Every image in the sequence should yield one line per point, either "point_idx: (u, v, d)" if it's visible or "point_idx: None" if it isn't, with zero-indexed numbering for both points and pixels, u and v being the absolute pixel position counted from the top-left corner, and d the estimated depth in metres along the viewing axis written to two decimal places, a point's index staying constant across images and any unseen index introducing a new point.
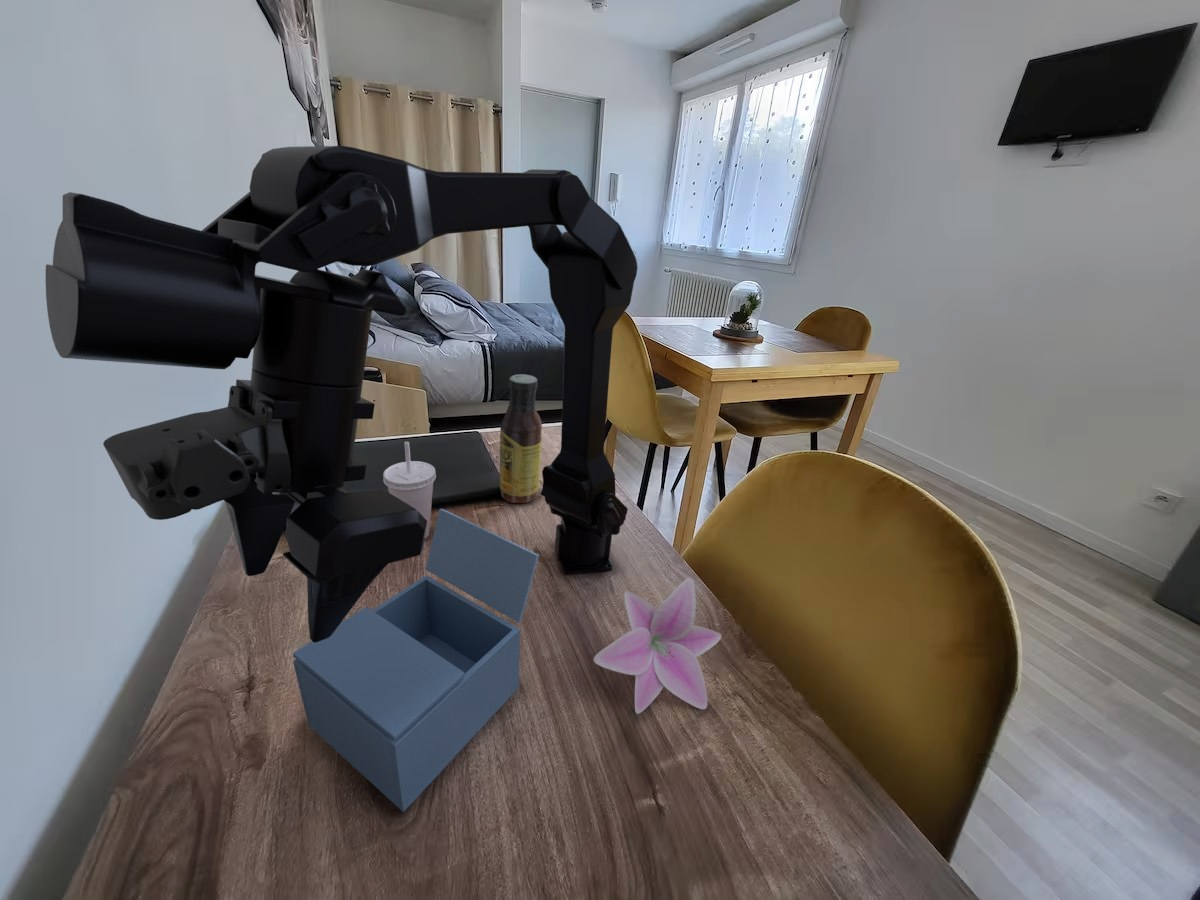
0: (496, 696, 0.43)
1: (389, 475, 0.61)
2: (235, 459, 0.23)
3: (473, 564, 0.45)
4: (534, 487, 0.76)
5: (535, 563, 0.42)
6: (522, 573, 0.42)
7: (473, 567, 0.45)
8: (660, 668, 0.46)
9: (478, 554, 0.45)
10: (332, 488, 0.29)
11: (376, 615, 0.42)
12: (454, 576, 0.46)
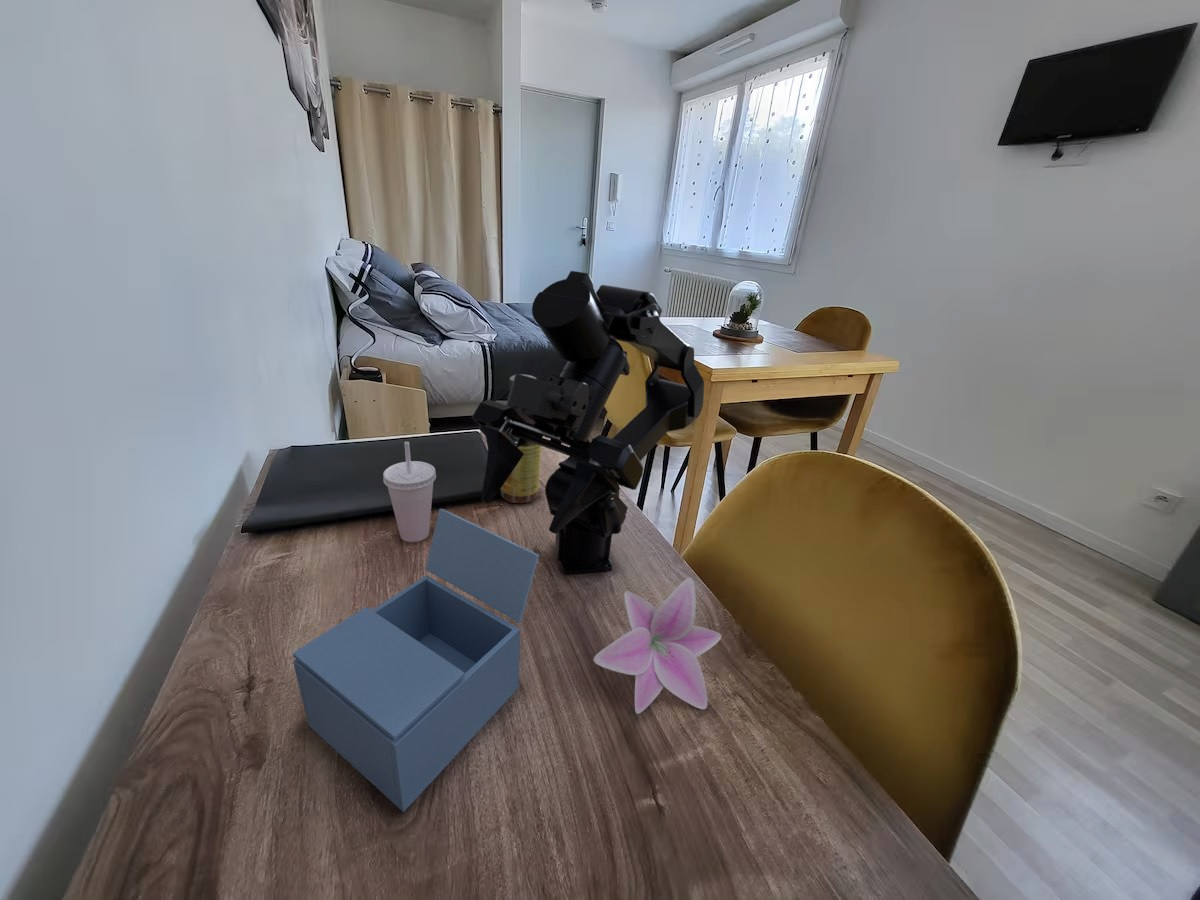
0: (496, 696, 0.43)
1: (389, 475, 0.61)
2: (587, 399, 0.45)
3: (473, 564, 0.45)
4: (534, 487, 0.76)
5: (535, 563, 0.42)
6: (522, 573, 0.42)
7: (473, 567, 0.45)
8: (660, 668, 0.46)
9: (478, 554, 0.45)
10: None
11: (376, 615, 0.42)
12: (454, 576, 0.46)
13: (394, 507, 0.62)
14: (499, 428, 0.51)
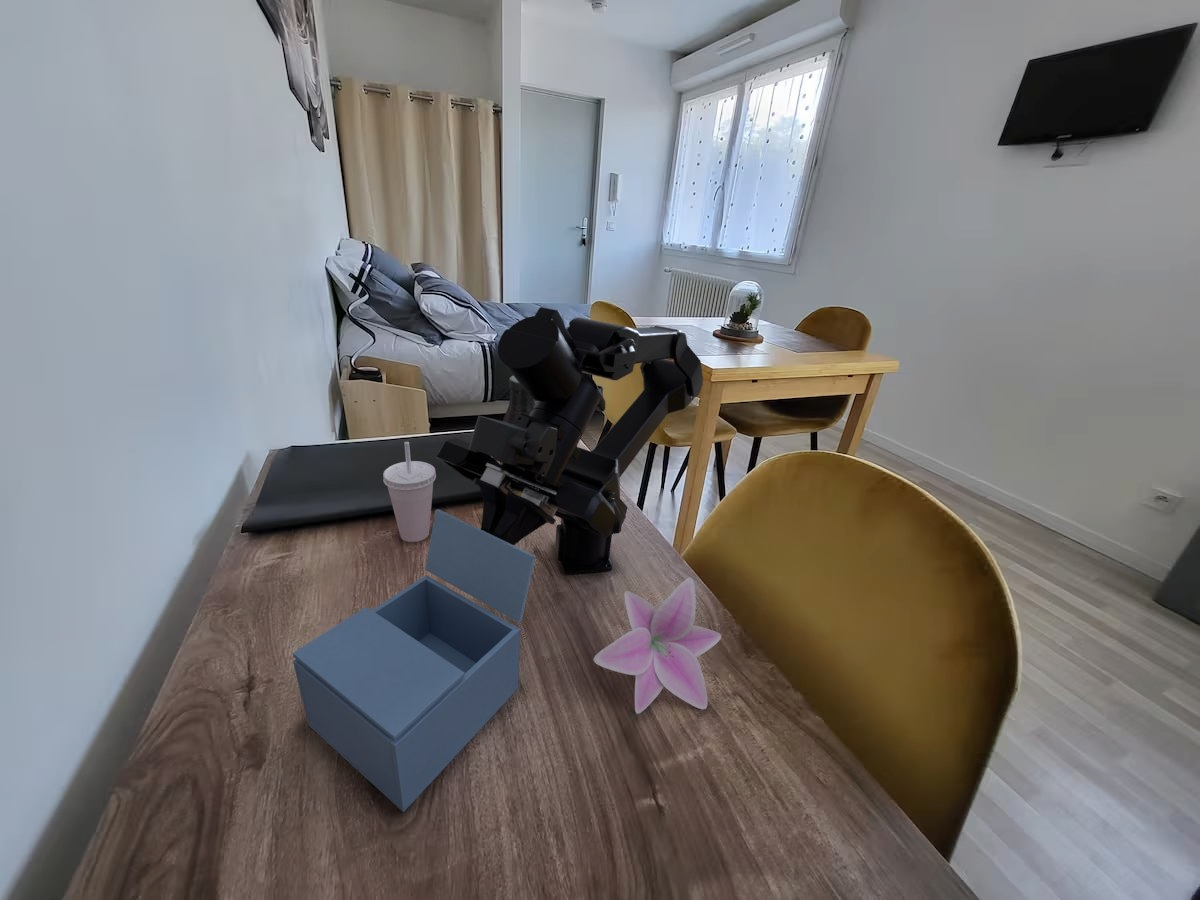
0: (496, 696, 0.43)
1: (389, 475, 0.61)
2: (555, 443, 0.42)
3: (471, 565, 0.45)
4: None
5: (532, 564, 0.42)
6: (519, 574, 0.42)
7: (471, 568, 0.45)
8: (660, 668, 0.46)
9: (476, 555, 0.44)
10: None
11: (376, 615, 0.42)
12: (453, 576, 0.46)
13: (394, 507, 0.62)
14: (496, 482, 0.46)
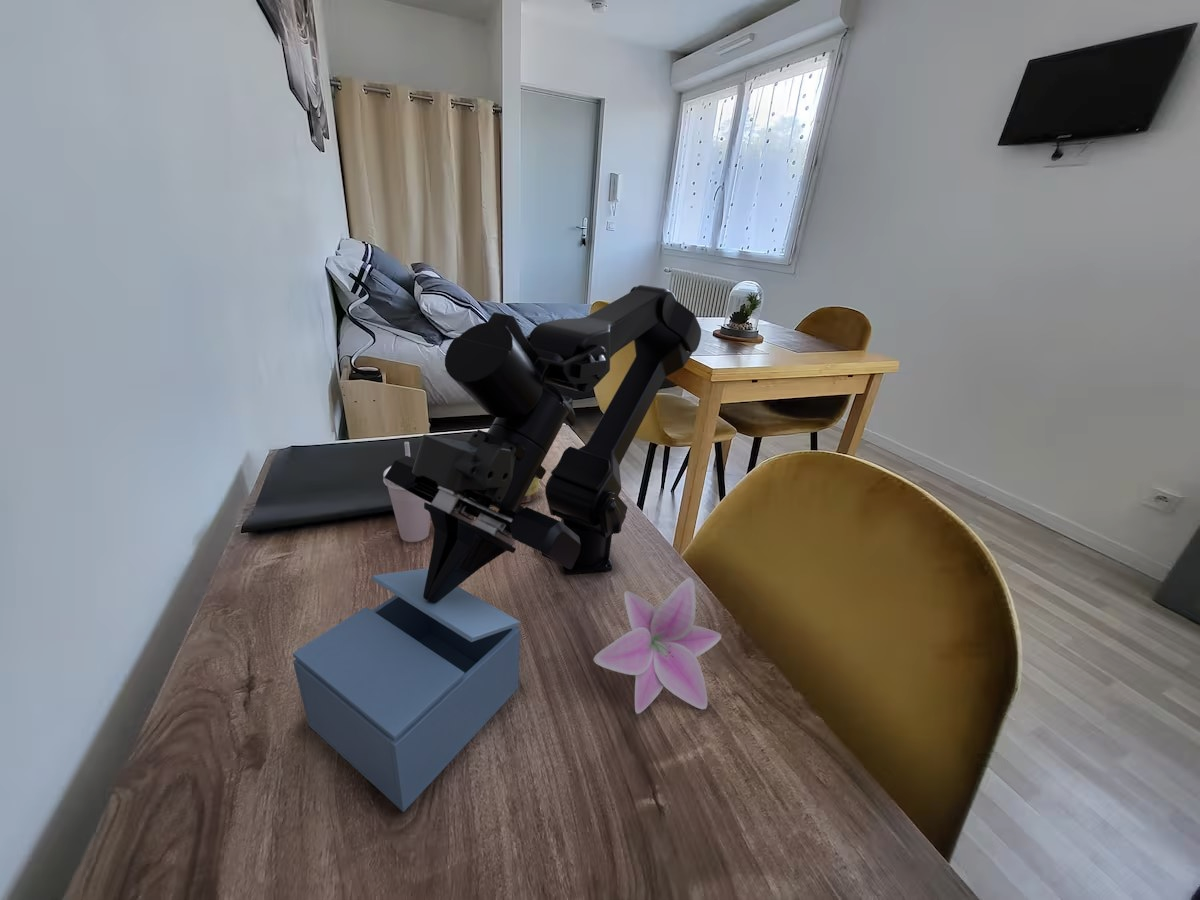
0: (496, 696, 0.43)
1: None
2: (510, 466, 0.38)
3: None
4: (534, 487, 0.76)
5: (478, 638, 0.38)
6: None
7: None
8: (660, 668, 0.46)
9: None
10: None
11: (376, 615, 0.42)
12: None
13: (394, 507, 0.62)
14: (448, 507, 0.41)
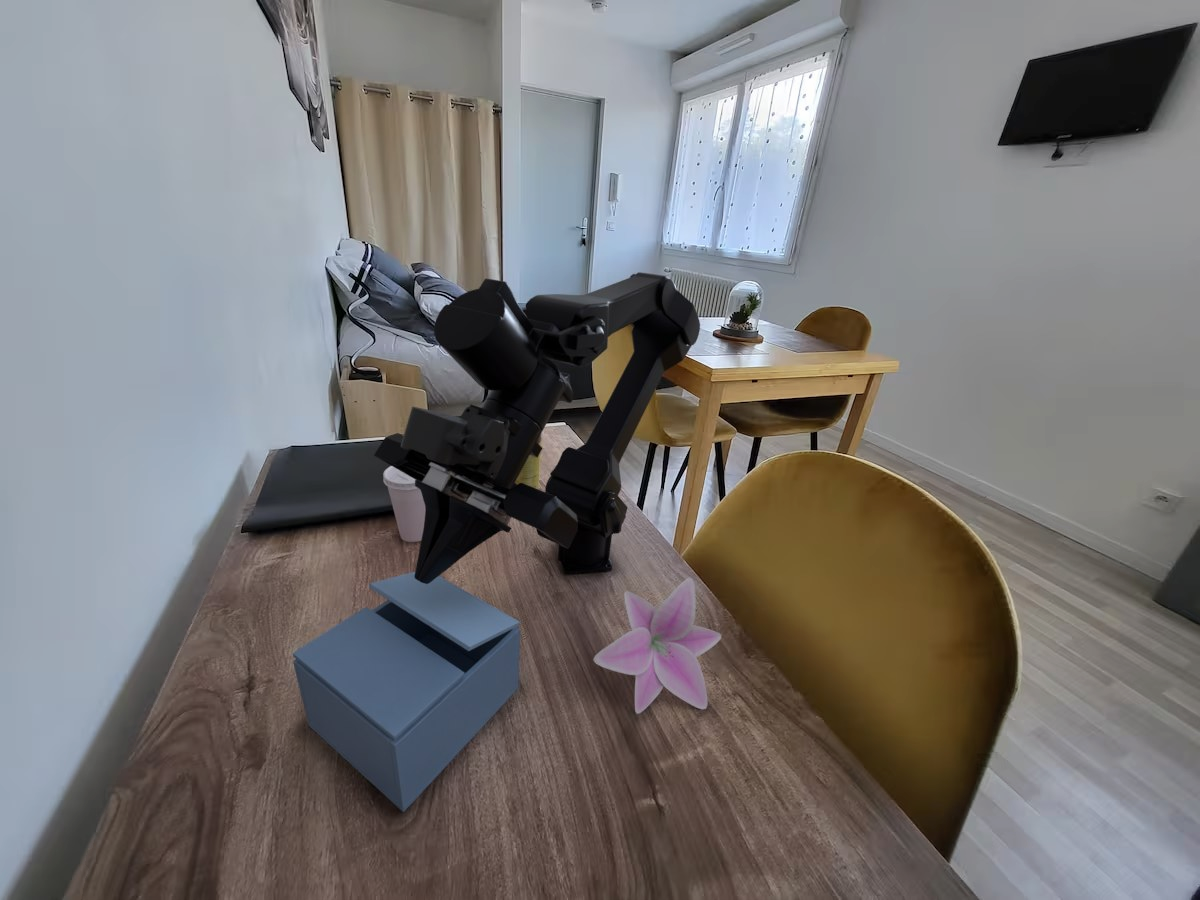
0: (496, 696, 0.43)
1: (389, 475, 0.61)
2: (503, 439, 0.36)
3: None
4: (534, 487, 0.76)
5: (475, 645, 0.38)
6: None
7: None
8: (660, 668, 0.46)
9: None
10: None
11: (376, 615, 0.42)
12: None
13: (394, 507, 0.62)
14: (440, 485, 0.40)
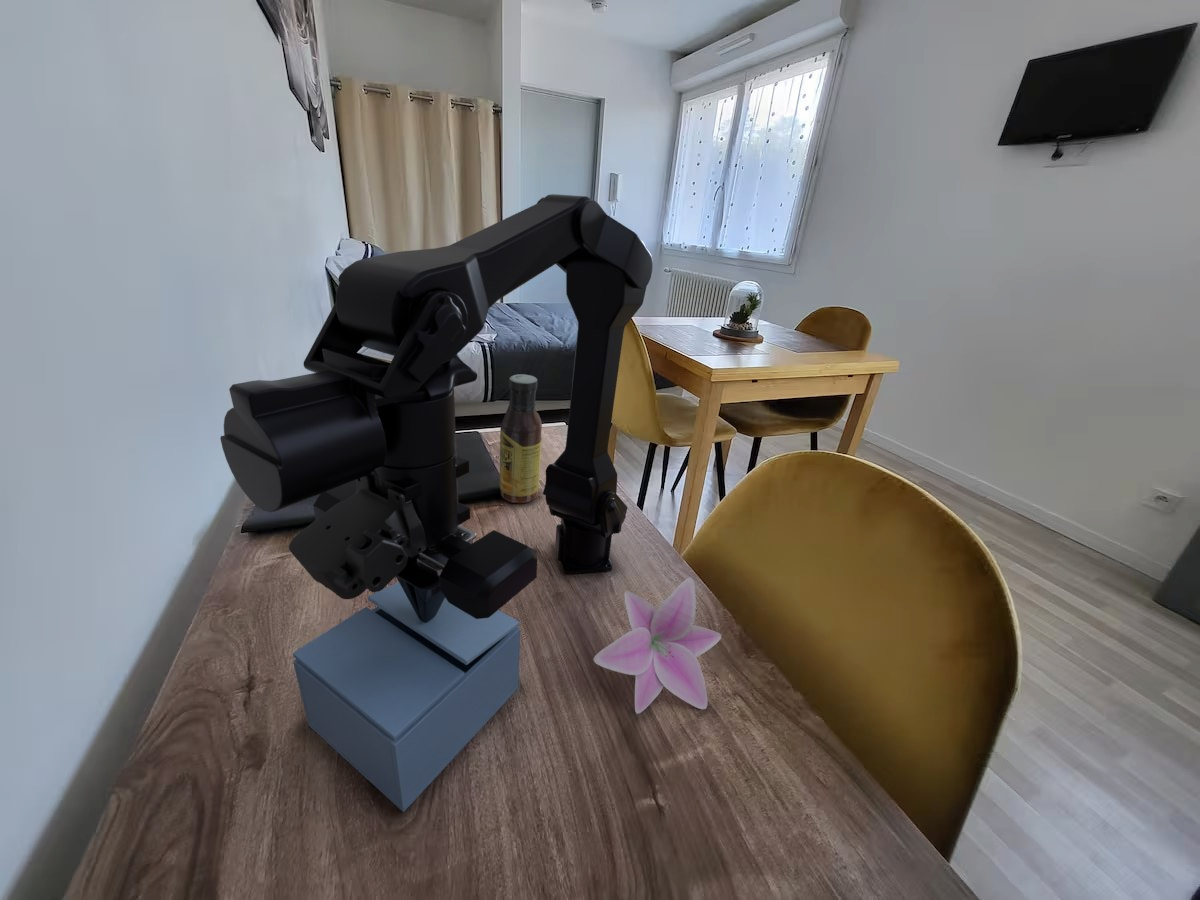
0: (496, 696, 0.43)
1: None
2: (397, 548, 0.30)
3: None
4: (534, 487, 0.76)
5: (473, 658, 0.38)
6: None
7: None
8: (660, 668, 0.46)
9: None
10: (454, 536, 0.36)
11: (376, 615, 0.42)
12: None
13: None
14: None
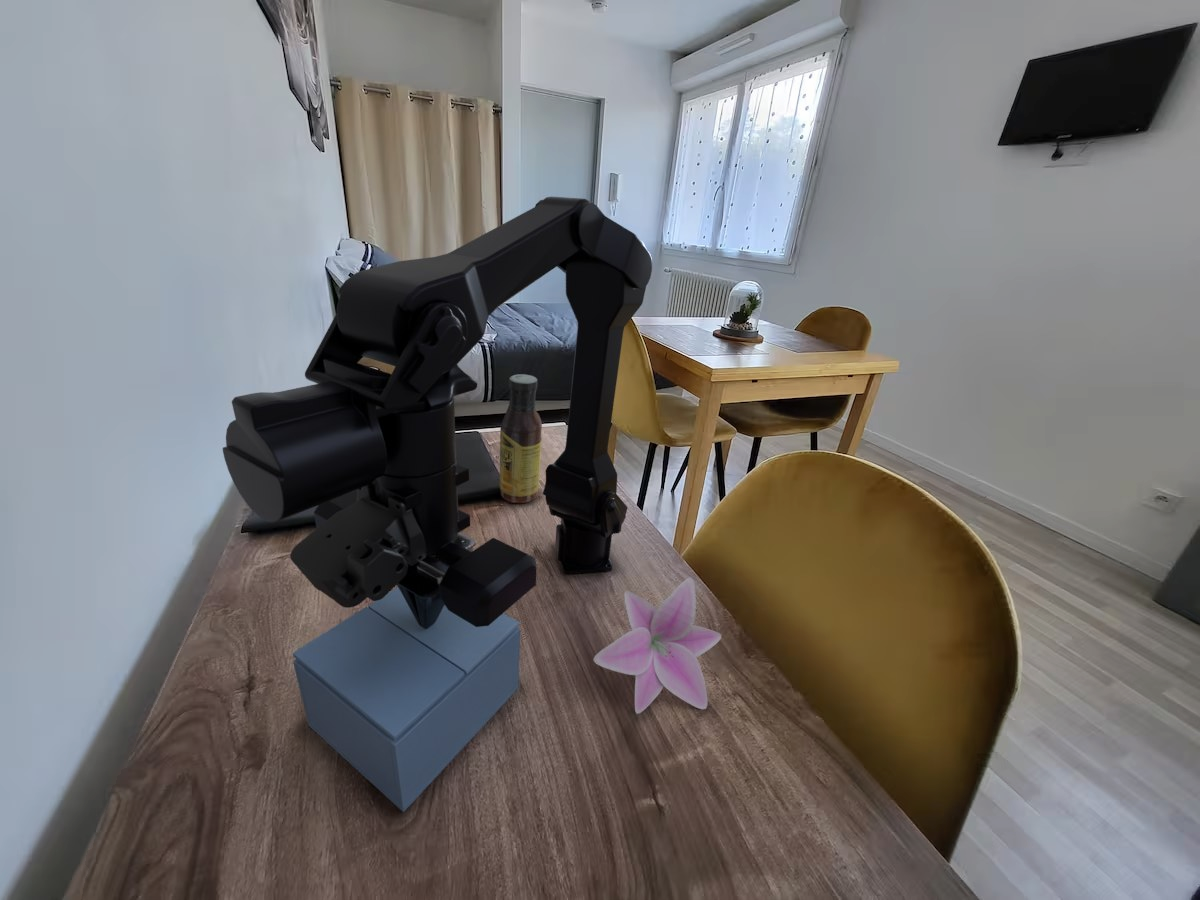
0: (496, 696, 0.43)
1: None
2: (397, 557, 0.30)
3: None
4: (534, 487, 0.76)
5: (473, 666, 0.38)
6: None
7: None
8: (660, 668, 0.46)
9: None
10: (454, 544, 0.36)
11: (376, 615, 0.42)
12: None
13: None
14: None
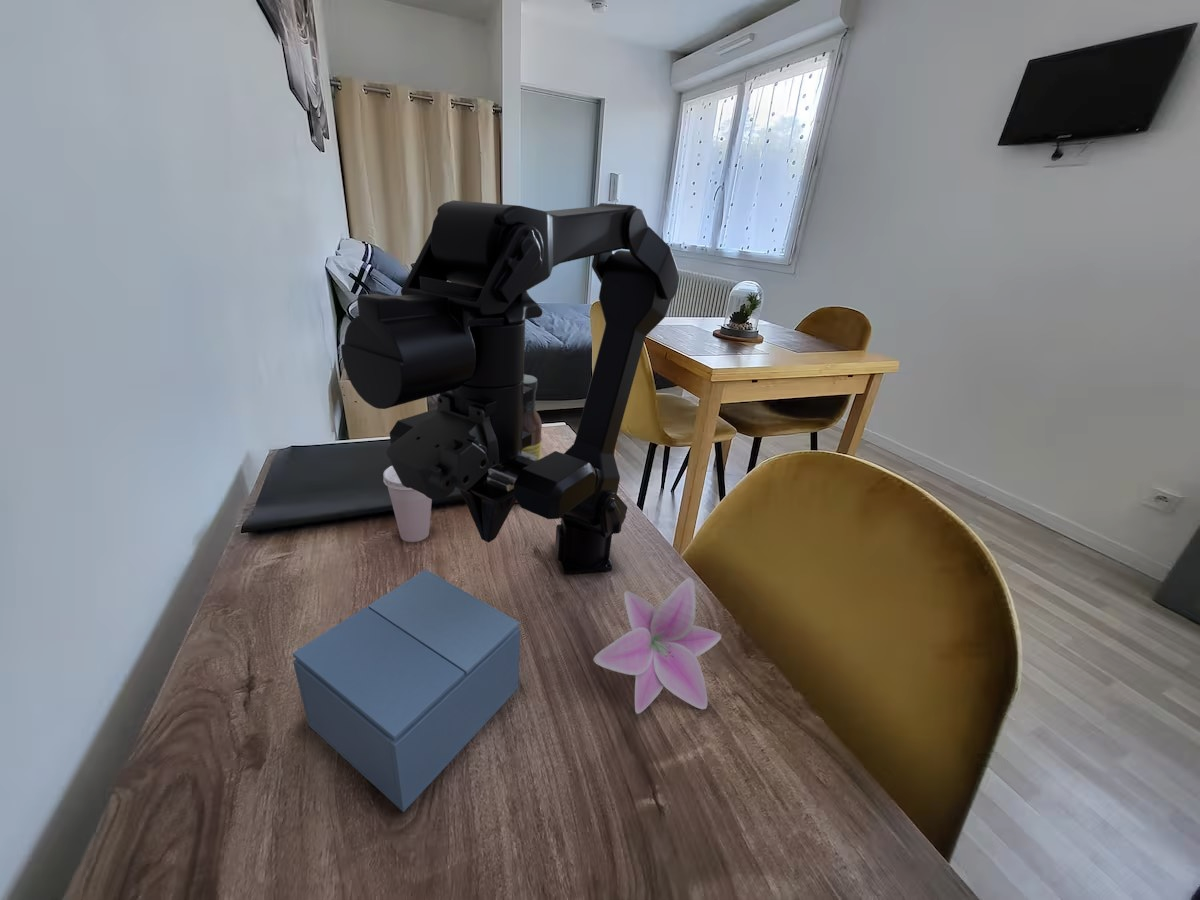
0: (496, 696, 0.43)
1: (389, 475, 0.61)
2: (482, 452, 0.34)
3: None
4: None
5: (473, 666, 0.38)
6: None
7: None
8: (660, 668, 0.46)
9: None
10: (520, 456, 0.40)
11: (376, 615, 0.42)
12: None
13: (394, 507, 0.62)
14: None
